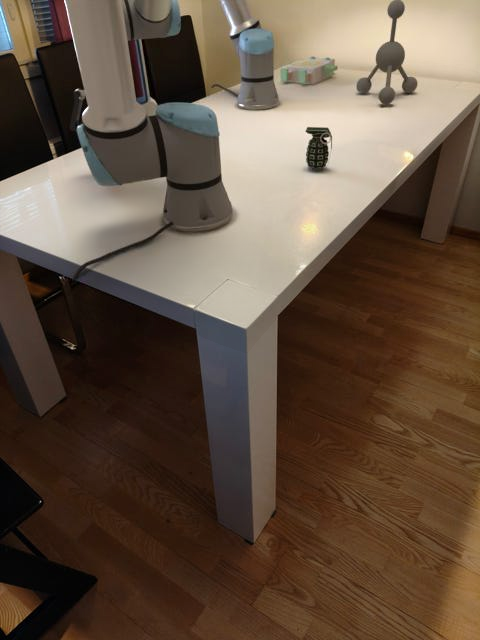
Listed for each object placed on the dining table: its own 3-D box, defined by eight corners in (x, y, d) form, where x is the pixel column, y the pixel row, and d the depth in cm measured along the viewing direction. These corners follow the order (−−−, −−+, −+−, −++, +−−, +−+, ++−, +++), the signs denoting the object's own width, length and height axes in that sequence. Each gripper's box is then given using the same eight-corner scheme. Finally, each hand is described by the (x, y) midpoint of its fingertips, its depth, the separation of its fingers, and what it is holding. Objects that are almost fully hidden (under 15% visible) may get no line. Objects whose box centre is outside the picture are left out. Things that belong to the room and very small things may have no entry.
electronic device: (125, 150, 145) (103, 35, 126) (123, 143, 151) (101, 31, 132) (166, 145, 147) (150, 30, 129) (163, 137, 153) (147, 27, 134)
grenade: (303, 171, 125) (304, 132, 119) (306, 163, 129) (307, 125, 123) (329, 173, 124) (331, 132, 117) (331, 164, 128) (333, 125, 122)
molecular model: (436, 99, 173) (455, -2, 154) (383, 108, 167) (396, 4, 148) (396, 85, 190) (408, -7, 172) (347, 93, 184) (354, -1, 166)
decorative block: (303, 54, 216) (344, 57, 207) (302, 70, 220) (342, 74, 211) (271, 65, 200) (314, 69, 191) (271, 82, 204) (314, 87, 195)
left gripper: (152, 61, 116) (165, 150, 129) (52, 65, 118) (75, 152, 131) (145, 67, 110) (159, 160, 123) (40, 71, 112) (65, 162, 125)
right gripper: (383, -81, 162) (375, -5, 175) (307, -77, 164) (305, -1, 177) (387, -82, 156) (378, -3, 169) (308, -77, 158) (306, 1, 171)
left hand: (116, 156), depth 127 cm, fingers open, 13 cm apart
